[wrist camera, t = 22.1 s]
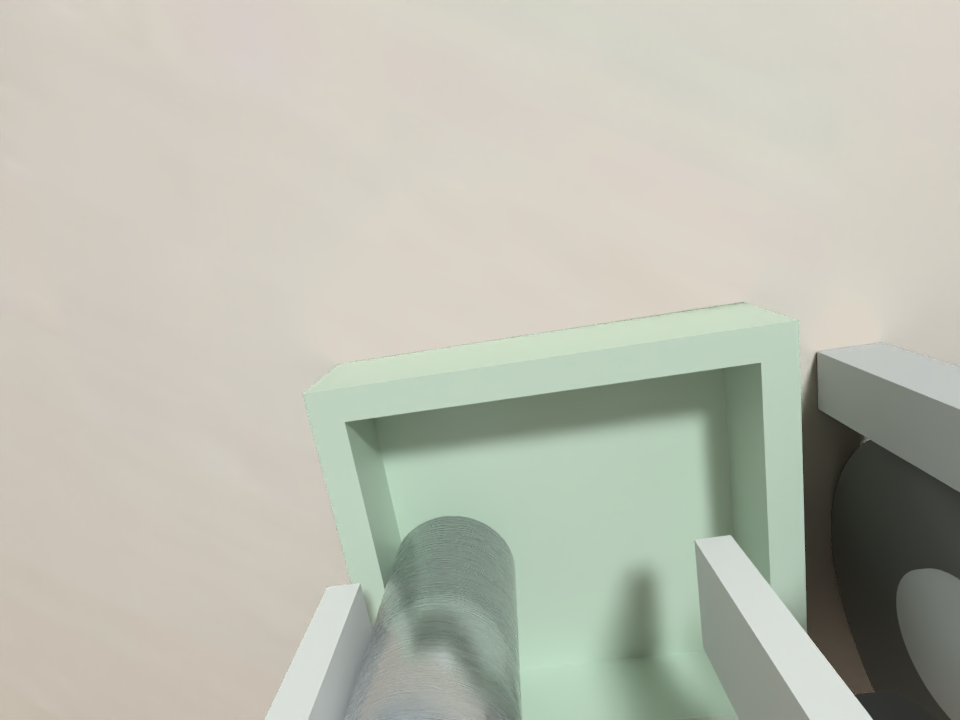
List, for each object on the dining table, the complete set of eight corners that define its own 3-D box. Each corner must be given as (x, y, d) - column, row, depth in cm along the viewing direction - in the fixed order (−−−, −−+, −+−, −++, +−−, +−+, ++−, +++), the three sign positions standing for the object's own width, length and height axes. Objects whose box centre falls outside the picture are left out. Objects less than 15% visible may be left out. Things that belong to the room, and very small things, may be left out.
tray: (414, 685, 17) (398, 767, 15) (339, 364, 15) (302, 394, 12) (760, 651, 16) (809, 733, 14) (743, 302, 14) (799, 320, 11)
